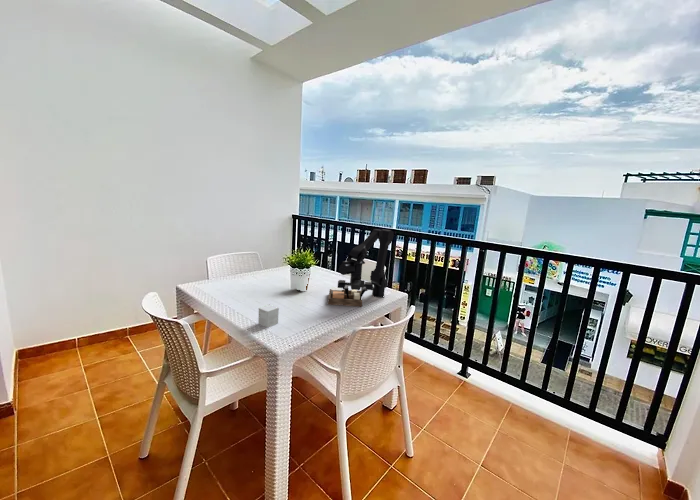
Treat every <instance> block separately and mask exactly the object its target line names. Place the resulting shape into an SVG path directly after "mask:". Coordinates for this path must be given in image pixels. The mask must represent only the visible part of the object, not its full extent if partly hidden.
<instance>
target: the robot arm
mask: <svg viewBox="0 0 700 500" xmlns="http://www.w3.org/2000/svg"><path fill="white" fill-rule="evenodd" d="M394 236H395V234H394V232H393V230H391V229H377V228H374V229H372V232H371V233H370V234H368V236H367V237H366V238H365V239H364V240H363V241H362V242H361V243H360V244H358V245H356V246H355V247H353V248H352V249H351V250H350V251H349V254H348V256H347V258H346V259H345V260H344V261H343V260H342V263H341V264H340V265H339V268H338V271H339V273H340V275H342V276H345V275H350V281H349V282H346V280H343V279H338V281H337V287H338V288H342V290H345V291H346V294H347V298H348V299H349V292H348V290H349V287H350V290H357V291H361V292H360V300H362V297H363V296H364V294H365V292H368V291H372V292H371V294H372V296H374V297H373V298H384V297H385V291H386V290H385V289H386V288H387V287H388V285H389V283H388V281H387V280H386V276H387V275H386V272H385V266H386V260H387V257H388V250H389V246H390V245H391V244H392V242H393V241H394V238H395V237H394ZM376 241H378V242H379V248H378V253H377V260H376V263H375V264H376V265H375V268H374V269H373V270H371V271H370V275H369V276H370V281H365V280H362V272H363V265H364V264H366V262H365V258H366V257H367V255H368V252H369V250H370V249H371V247H372V246H373V245H374V244H375V243H376ZM383 296H384V297H383Z"/></svg>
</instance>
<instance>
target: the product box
mask: <svg viewBox="0 0 700 500" xmlns="http://www.w3.org/2000/svg"><path fill="white" fill-rule="evenodd" d="M279 309H280V308H279V307H277V306H275V305H272V304H271V303H270V304H266V305H263V306H260V307H258V318H257V319H258V325H261V326H263V327H265V328H267V329H268V328H271V327H273V326H275V325H277V324H279V314H280V312H279Z"/></svg>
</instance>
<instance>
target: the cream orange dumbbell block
mask: <svg viewBox="0 0 700 500" xmlns="http://www.w3.org/2000/svg"><path fill="white" fill-rule="evenodd" d="M333 298H339V299H344V292H335V291H333ZM354 299H355V300H360V293H354Z"/></svg>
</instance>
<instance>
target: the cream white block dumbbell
mask: <svg viewBox="0 0 700 500" xmlns="http://www.w3.org/2000/svg"><path fill="white" fill-rule="evenodd" d="M330 289H331V293H333V291H335V292H342V290H343V288H338V286H332V287H330ZM350 290H351V295H354V293H357V291H358V290H352V289H350Z"/></svg>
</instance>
